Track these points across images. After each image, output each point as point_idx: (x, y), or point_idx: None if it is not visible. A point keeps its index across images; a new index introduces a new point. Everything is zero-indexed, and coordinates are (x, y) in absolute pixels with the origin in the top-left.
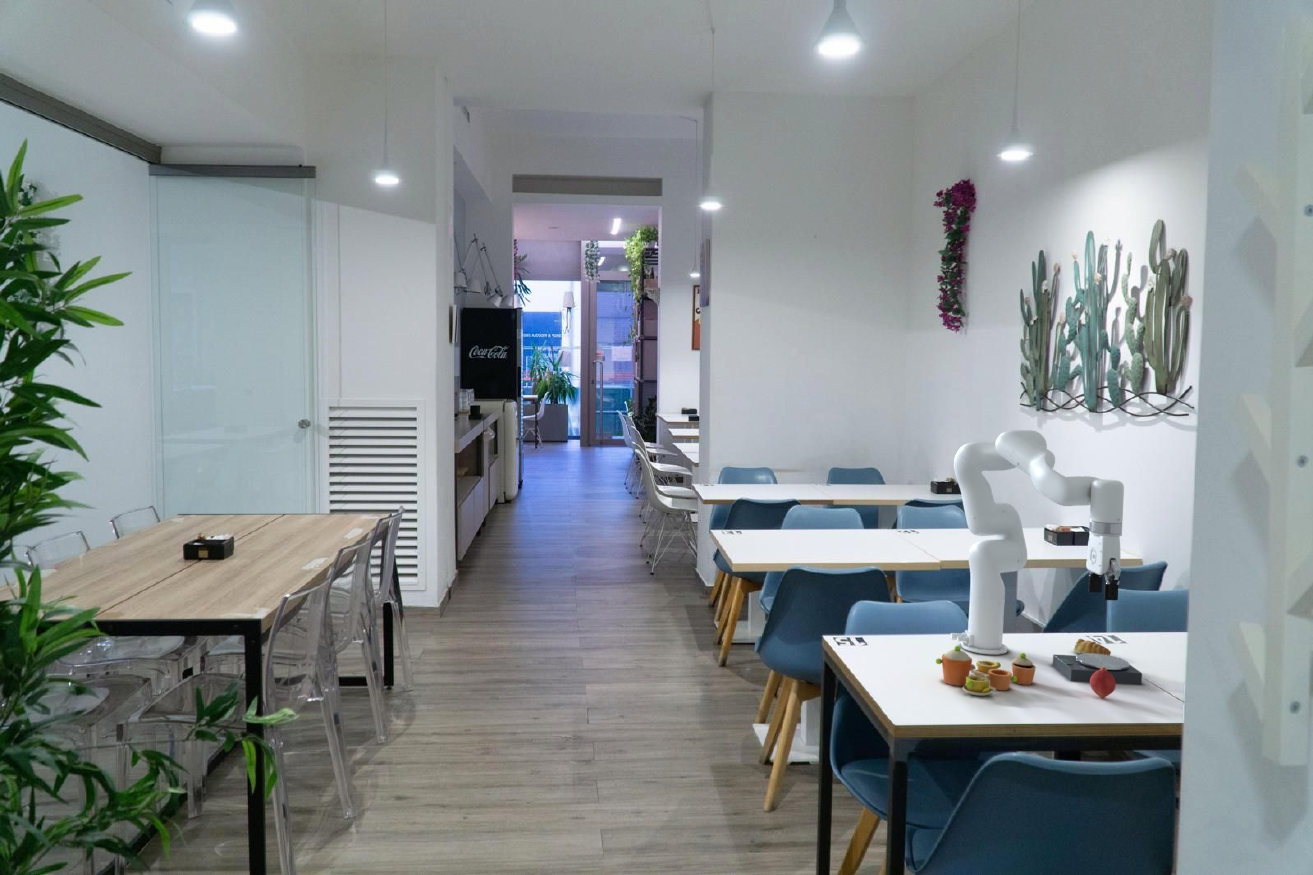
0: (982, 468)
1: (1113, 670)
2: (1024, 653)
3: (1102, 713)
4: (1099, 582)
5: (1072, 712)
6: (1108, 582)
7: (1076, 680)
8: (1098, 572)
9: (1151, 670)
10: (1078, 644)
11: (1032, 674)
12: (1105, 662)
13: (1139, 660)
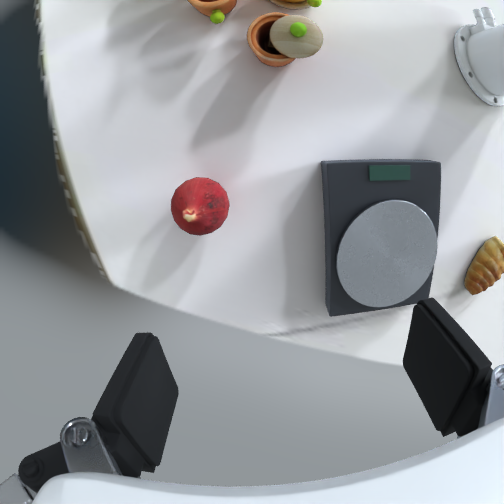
0: None
1: None
2: (299, 29)
3: (111, 179)
4: (430, 397)
5: (100, 125)
6: (61, 430)
7: (322, 174)
8: (84, 490)
9: None
10: (498, 246)
11: (257, 56)
12: (375, 259)
13: None
